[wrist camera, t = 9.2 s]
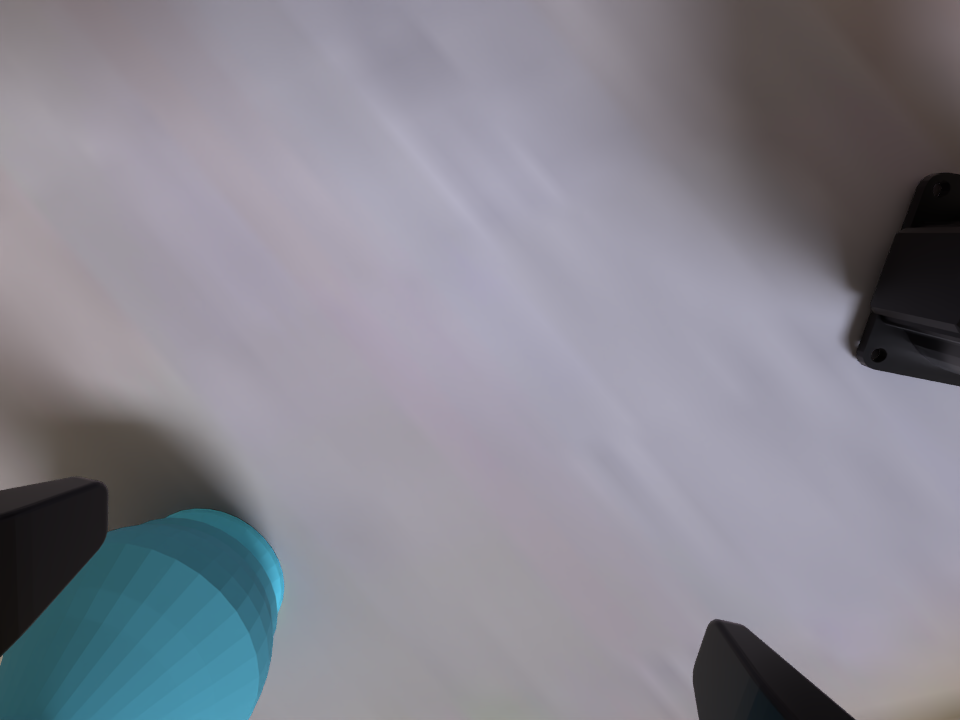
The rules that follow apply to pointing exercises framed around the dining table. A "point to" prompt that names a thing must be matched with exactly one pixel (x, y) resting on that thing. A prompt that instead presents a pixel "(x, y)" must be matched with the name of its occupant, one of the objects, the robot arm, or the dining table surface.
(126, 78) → the dining table surface
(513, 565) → the dining table surface
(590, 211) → the dining table surface
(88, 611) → the perfume bottle
